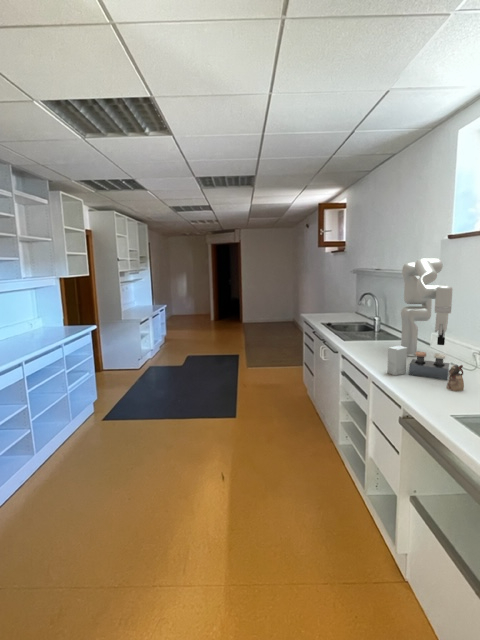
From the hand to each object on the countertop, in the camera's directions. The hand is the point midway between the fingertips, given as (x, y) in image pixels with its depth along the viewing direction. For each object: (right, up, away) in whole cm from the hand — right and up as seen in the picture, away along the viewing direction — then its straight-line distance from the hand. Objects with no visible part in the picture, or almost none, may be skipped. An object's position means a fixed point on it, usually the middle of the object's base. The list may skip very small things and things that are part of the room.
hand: (440, 344), depth 189 cm
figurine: (-2, -20, -16) cm, 26 cm away
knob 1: (-7, -12, +8) cm, 16 cm away
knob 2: (0, -13, +3) cm, 13 cm away
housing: (-3, -16, +6) cm, 18 cm away
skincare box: (-19, -17, +9) cm, 27 cm away
